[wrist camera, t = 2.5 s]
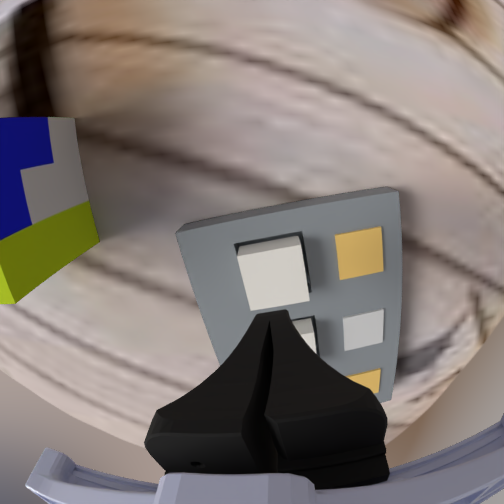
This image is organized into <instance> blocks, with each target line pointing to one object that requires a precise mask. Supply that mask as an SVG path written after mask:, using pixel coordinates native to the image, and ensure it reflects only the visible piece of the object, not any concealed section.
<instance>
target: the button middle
mask: <svg viewBox="0 0 504 504" xmlns="http://www.w3.org/2000/svg"><path fill="white" fill-rule="evenodd" d="M292 322H293V324H294V326H295V328H296V329H297V331H298V332H299V334H300V335H301V337H302V338H303V339H304V340H305V342H306V343H307V344H308V345H309V346H310V348H311V349H312V350H313V351H314V352H315V353H316V345H315V337H314V330H313V326H312V321H311V318H308V319H302V320H297V321H292ZM316 354H317V353H316Z"/></svg>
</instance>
